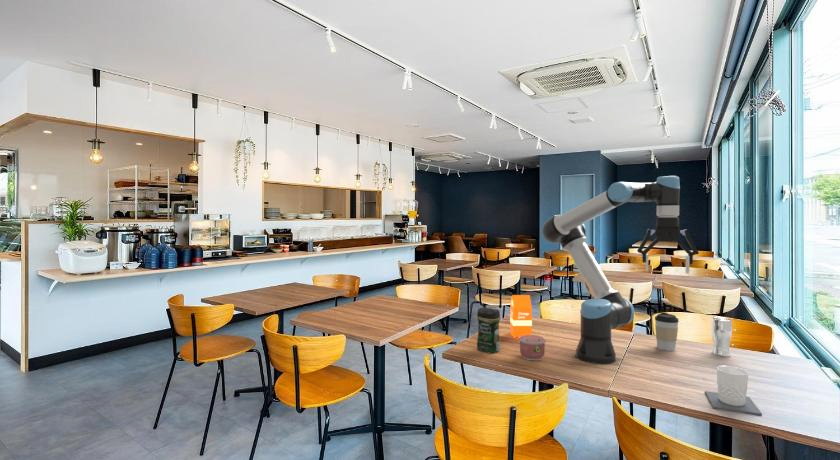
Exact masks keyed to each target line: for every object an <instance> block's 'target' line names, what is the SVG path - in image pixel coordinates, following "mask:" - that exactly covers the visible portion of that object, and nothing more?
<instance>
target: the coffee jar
mask: <svg viewBox="0 0 840 460" xmlns="http://www.w3.org/2000/svg"><path fill="white" fill-rule="evenodd" d="M476 318H477V321H478V323H477V324H478V331H477V332H478V333H477V342H476V349H477V350H478V351H480V350H481V351H480V352H483V351H484V352H485V353H488V352H489V353H488V354H495V353H494V352H496V353H497V352H500V350H501V341H500V329H499V328H500V326H499V325H500V321H501V314H500V310H499V309H497V308H490V307H485V306H482V307H479V308H478V309H477V313H476Z"/></svg>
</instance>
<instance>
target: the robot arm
mask: <svg viewBox="0 0 840 460" xmlns="http://www.w3.org/2000/svg"><path fill="white" fill-rule="evenodd" d="M680 191H681V185H680V177H679V176H677V175H667V176H666V175H664V176H658V177H657V178H656V181H655V182H628V181H617V182H613V183H612V184H611V185H609V187H608V189H607V190H605V191H604V192H601V193H599V194H598V195H596V196H594V197H593V198H591V199H589V200H587V201H585V202H584V203H582V204H580V205H578V206H576V207H574V208H572V209H570V210H568V211H567V212H564V213H563V214H556V215H555V216H553V217H550V218H549V219H547V220H546V221H545V222H544V223H543V225H542V227H541V233H542V236H543V238H544V240H545V241H546V242H549V243H550V244H555V245H556V244H560V246H561V247H562V250H563V251H565V252H568V254H569V255H570V257H571V259H572V260H573V262H574V264H575V266H576V267H577V270H578V271H579V272H580V274H581V277H582V278H583V280H584V283H586V285H587V287H588V289H589V291H590V292H591V294H592V296H593V298H591V299H590V298H589V299H586V300H584V301H583V302H582V303H581V306H580V312H579V313H580V338H579V341H578V344H577V347H576V349H575V356H576V358H578V359H579V360H581V361H584V362H588V363H592V364H605V365H606V364H612V363H614V362H615V361H616V360H617V359H616V357H617V354H616V352H615V348H614V346H613V342H612V330H613V329H617V328H622V327H625V326H626V325H628V324H630V323H631V322H632V321H633V320H634V318H635V308H634V305H633V303H632V302H631V301H630V300H628V299H626V298H625V297H623V296H622V295H621V293H620V291H619V290H617V289H616V290H615V289H614V288H613V286H612V285H611V284H610V282H609V280H608V278H607V277H606V274H605V273H604V272H603V269H602V268H601V266H600V264H599V263H598V262H597V260H596V258H595V256H594V254H593V253H592V250H590V247H589V246H588V244H587V241H588V238H587V227H586V225H585V223H587V222H590V221H591V220H593V219H595V218H598V217H599V216H601V215H603V214H605V213H607V212H609V211H611V210H613V209H615V208H617V207H619V206H622V205H624V204H625V203H629V202H630V203H647V202H648V203H649V202H650V203H651V202H656V216H657V217H656V218H655V219H656V221H655V222H656V224H655V227H656V228H655V229H650V228H648V229H647V230H646V234H645V236H644V237H643V240H642V241H641V243H640V245H639V247H638V249H637V250H636V251H637V252H638V254H641V256H642V257H641V261H642V263H645V264H644V265H645V266H644V268H645V269H644V270H645V272H646V273H647V272H649V252H650V251H651V250H652V248H654V247H655V246H656V245H657V244H658V243H659V242H660V241H662V242H667V241H668V242H674V241H675V242H676V243H677V244H678V245H679V246H680V248H682V250H683V251H684V252H685V253H686V254H687V255H685V273H686V274H690V265H693V262H694V261H693V260H694V258H693V257H694V256H695V255H699V254H700V253H699V250H698V249H697V247H696V245H695V243H694V241H693V239H692V238H691V236H690V231H689V229H682V230H680V218H679V216H680V194H681V193H680ZM654 234H655V235H656V237H655V239H653V240H652V241H651V243H650V244H649V245H648V246H647V247H646V248H645V249H644V247H645V246H646V245H647V243H648V240H649V239H650V237H651V236H653V235H654ZM680 234H681V235H682V236H684V237H685V240H686V242H687V243H688V245H689V246H690V249H689V248H688V247H687V246H686V245H685V244H684V242H683V241H682V240H681V239H680V238H679V235H680ZM643 249H644V250H643ZM691 250H692V251H691Z"/></svg>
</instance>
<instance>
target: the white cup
mask: <svg viewBox="0 0 840 460" xmlns="http://www.w3.org/2000/svg"><path fill="white" fill-rule="evenodd" d="M748 381H749V372H748V371H747V370H746V369H743V368H741V367H739V366H738V367H737V366H732V365H718V366H717V367H716V382H717V393H718V399H719V400H720V401H721V402H723V403H726V404H729V405H733V406H744V405H745V400H746V397H747V391H748Z"/></svg>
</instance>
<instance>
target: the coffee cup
mask: <svg viewBox="0 0 840 460" xmlns="http://www.w3.org/2000/svg"><path fill="white" fill-rule="evenodd" d="M654 321H655V338H656V348H657V349H658V350H661V351H668V352H673V351H676V346H677V345H676V344H677V341H678V339H677V338H678V331H679V327H678V325H679V322H680V321H679V318H678V317H677V316H676V315H675V314H670V313H667V312H660V313H658V314H657V315H655V317H654Z"/></svg>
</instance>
